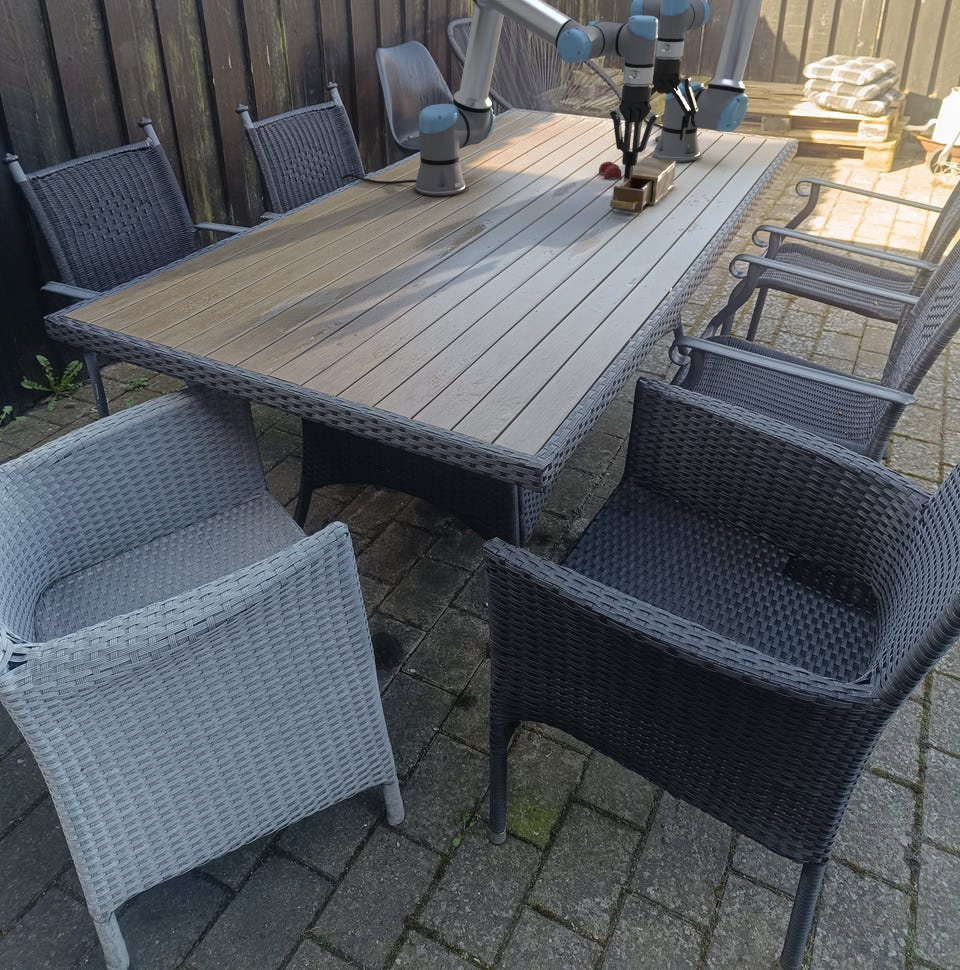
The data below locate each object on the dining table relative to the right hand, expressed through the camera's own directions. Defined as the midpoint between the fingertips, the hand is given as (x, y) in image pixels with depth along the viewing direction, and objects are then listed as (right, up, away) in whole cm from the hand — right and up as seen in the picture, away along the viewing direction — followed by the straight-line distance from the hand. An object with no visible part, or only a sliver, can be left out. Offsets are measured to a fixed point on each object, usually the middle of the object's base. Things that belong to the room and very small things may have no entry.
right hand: (659, 136), depth 250 cm
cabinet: (-3, -15, +5) cm, 16 cm away
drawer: (-9, -22, -6) cm, 25 cm away
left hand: (-12, -18, -18) cm, 28 cm away
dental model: (-12, -4, +21) cm, 24 cm away
